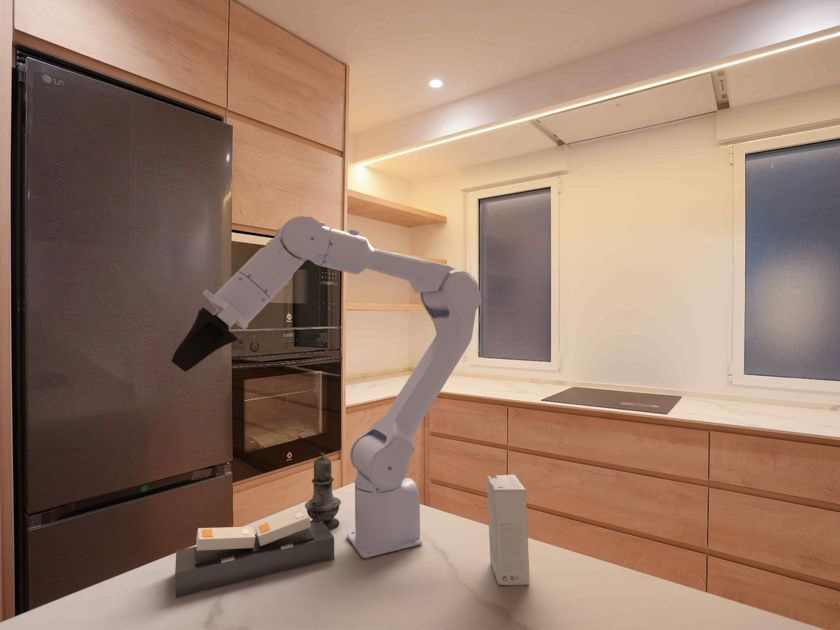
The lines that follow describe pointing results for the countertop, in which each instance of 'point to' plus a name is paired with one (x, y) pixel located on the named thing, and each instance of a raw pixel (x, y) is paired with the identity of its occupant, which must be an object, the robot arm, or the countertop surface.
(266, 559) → the power strip
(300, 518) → the rocker outlet
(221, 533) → the white rocker switch
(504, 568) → the skincare box
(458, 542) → the countertop surface
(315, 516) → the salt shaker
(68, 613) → the countertop surface
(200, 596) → the countertop surface
